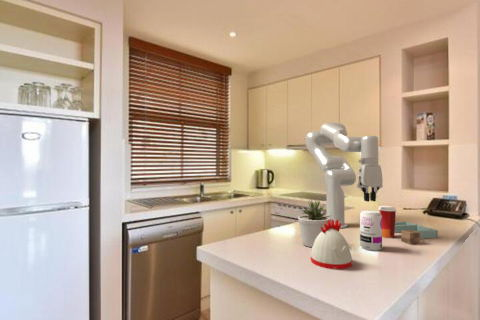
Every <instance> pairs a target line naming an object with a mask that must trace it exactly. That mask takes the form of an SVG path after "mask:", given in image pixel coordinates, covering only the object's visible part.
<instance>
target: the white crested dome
mask: <svg viewBox="0 0 480 320" xmlns="http://www.w3.org/2000/svg"><path fill="white" fill-rule="evenodd" d="M341 224H342V223H339V225H338V220H336V221H335V225H334V220H331V223H330V220H328V222H327V225H326V223H324V227H325V229H323V228H322V227H321V226H320V227H321V230H322V232H321V233H320V234H319V235H318V236H317V238H316V239H315V241H314V244H313V247H311V252H310V261H311V263H312V264H313V265H315V266H318V267H320V268H324V269H330V270H344V269H349V268H351V267H352V265H353V256H352V253H351V250H350V247H349V244H348V242H347V240H346V238H345V237H344V235H342V233H341V232H340V230H341V228H340V227H341Z"/></svg>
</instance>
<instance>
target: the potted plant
mask: <svg viewBox="0 0 480 320" xmlns="http://www.w3.org/2000/svg"><path fill="white" fill-rule="evenodd" d="M314 200H315V201H313V199H312V198H310V201H307V204H308V205H309V206H308V207H310V209H302V210H299V212H301V213H302V214H303V215H300V216H298V217H297V220H298V223H299V231H300V236H301V241H302V245H303V246H306V247H308V248H312V247H313V244H314V241H315V239H316V238H317V236H318V235H319V234H320V233H321V232H322V230H321V227H322V228H323V229H325V227H324V223H326V225H327V222H328V220H329V219H328V218H327V217H329V216H327V212H323V213H322V211H323V209H324V206H325V205H326V203H324V204H323V205H321V204H320V203H321V201H320V200H319V199H314ZM325 215H326V216H325ZM330 216H332V215H330ZM320 226H321V227H320Z"/></svg>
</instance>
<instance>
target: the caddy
mask: <svg viewBox="0 0 480 320" xmlns="http://www.w3.org/2000/svg"><path fill="white" fill-rule="evenodd" d="M401 230H413V231H416V232H420V240H422V239H437V238H438V236H439V235H438V229H434V228H430V227H427V226H423V225H420V224H416V223H412V222H409V221H395V232H394V234H398V233H399V234H400V233H401Z"/></svg>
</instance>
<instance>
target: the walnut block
mask: <svg viewBox="0 0 480 320" xmlns="http://www.w3.org/2000/svg"><path fill="white" fill-rule="evenodd" d="M400 236H401V237H400V238H401V240H400V241H401V242H403V243H405V244H407V245H409V246H410V245H411V246H412V245H421V239H420V232H416V231H413V230H401V235H400Z"/></svg>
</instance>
